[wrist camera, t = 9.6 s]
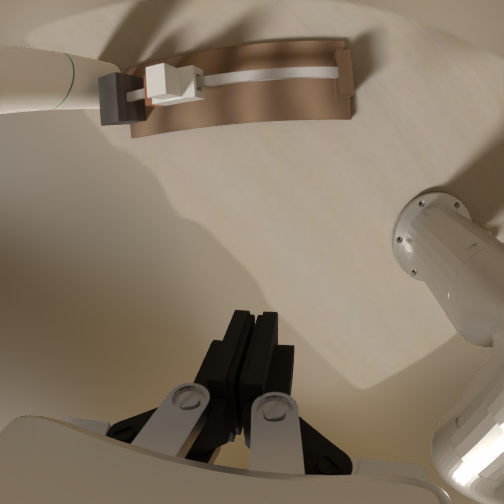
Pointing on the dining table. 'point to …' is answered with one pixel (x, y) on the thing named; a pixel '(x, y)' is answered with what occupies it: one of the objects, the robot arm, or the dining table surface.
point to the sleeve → (173, 84)
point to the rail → (238, 88)
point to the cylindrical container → (48, 80)
